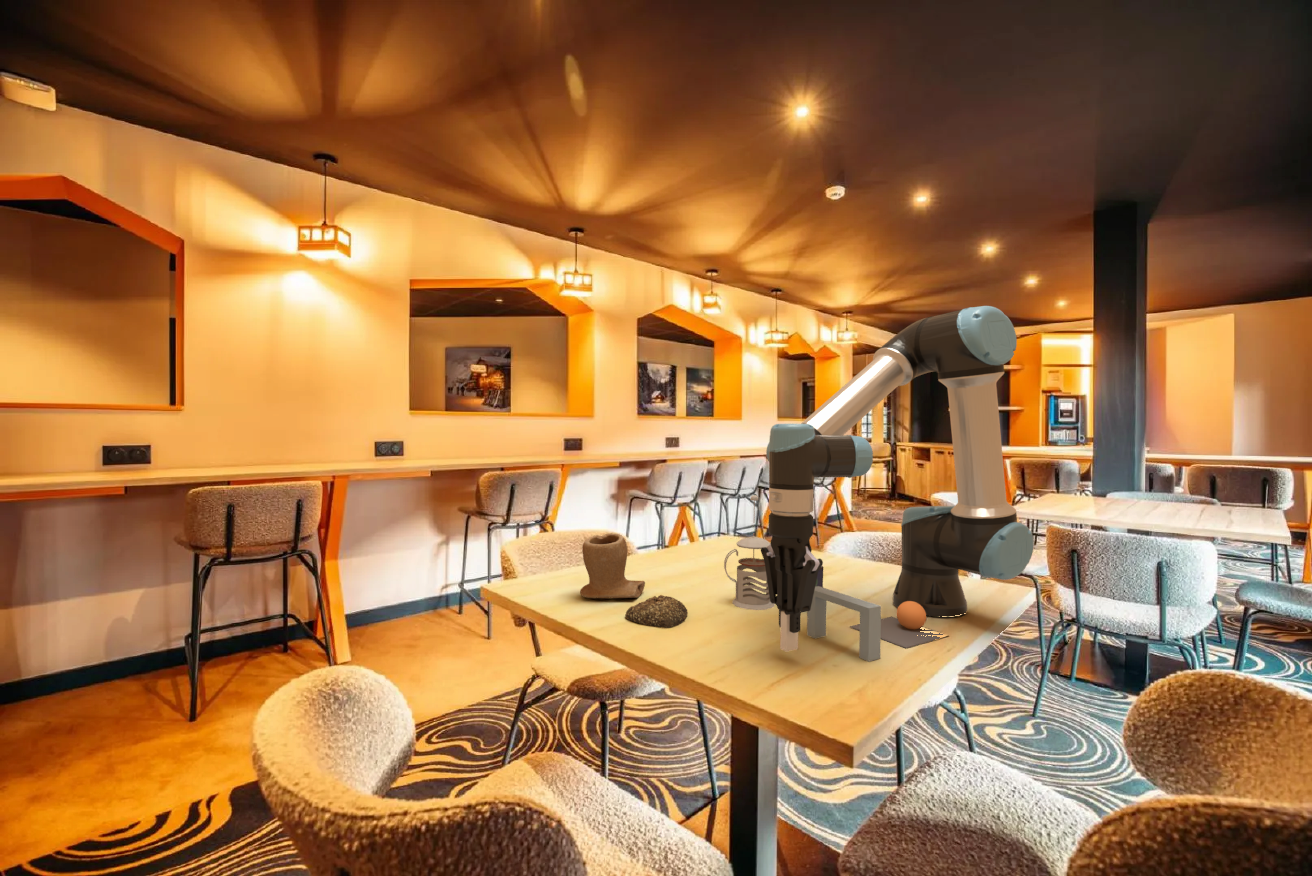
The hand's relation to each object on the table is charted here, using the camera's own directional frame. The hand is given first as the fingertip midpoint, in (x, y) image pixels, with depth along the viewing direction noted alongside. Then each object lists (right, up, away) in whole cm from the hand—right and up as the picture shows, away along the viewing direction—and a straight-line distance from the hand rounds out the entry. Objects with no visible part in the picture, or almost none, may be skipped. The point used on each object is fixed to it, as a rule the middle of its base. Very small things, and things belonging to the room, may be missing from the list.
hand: (789, 648), depth 98 cm
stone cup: (-34, -2, +36) cm, 49 cm away
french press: (-2, -2, +33) cm, 33 cm away
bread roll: (-22, -2, +22) cm, 32 cm away
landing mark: (+25, -2, +15) cm, 29 cm away
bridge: (+11, -2, +7) cm, 13 cm away
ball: (+28, +1, +16) cm, 33 cm away
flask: (+11, -2, +31) cm, 33 cm away
